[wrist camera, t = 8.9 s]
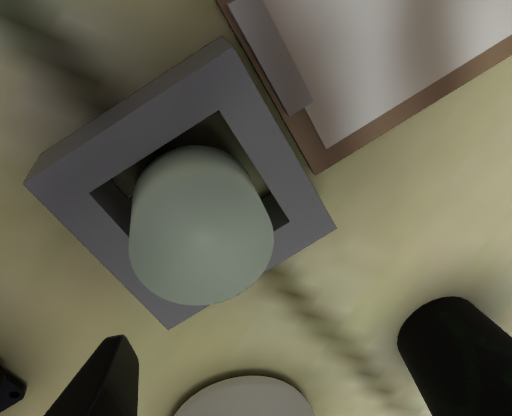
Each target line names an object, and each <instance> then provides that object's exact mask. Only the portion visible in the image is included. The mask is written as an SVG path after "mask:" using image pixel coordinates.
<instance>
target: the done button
mask: <svg viewBox="0 0 512 416" xmlns="http://www.w3.org/2000/svg"><path fill="white" fill-rule="evenodd" d="M273 246H274V232H273V227H272V223H271V221H270V218H269V216H268V214H267V212H266V210H265V207H264V205H263V203H262V201H261V199H260V197H259V195H258V193H257V191H256V189H255V187H254V185H253V183H252V180H251V178H250V176H249V175H248V173H247V171H246V170H245V168H244V167H243V166H242V165H241V164H240V163H239V162H238V161H237V160H236V159H235V158H234V157H232V156H231V155H229V154H228V153H226V152H224V151H222V150H219V149H217V148H213V147H209V146H202V145H189V146H182V147H178V148H174V149H172V150H169V151H167V152H165V153H163V154H161V155H159V156H158V157H157V158H155V159H154V160H152V161H151V162H150V163H149V164H148V165H147V166H146V167H145V169H144V170H143V171H142V172H141V174H140V176H139V178H138V179H137V182H136V184H135V187H134V191H133V197H132V209H131V222H130V234H129V246H128V249H129V258H130V262H131V266H132V268H133V270H134V272H135V274H136V276H137V277H138V279H139V280H140V281H141V283H142V284H143V285H144V286H145V287H146V288H147V289H149V290H150V291H151V292H153V293H154V294H155V295H157V296H159V297H161V298H163V299H165V300H168V301H170V302H173V303H178V304H182V305H192V306H200V305H210V304H215V303H219V302H222V301H225V300H228V299H230V298H233V297H235V296H236V295H238V294H240V293H242V292H243V291H245V290H246V289H248V288H249V287H250V286H251V285H252V284H253V283H254V282H255V281H256V280H257V279H258V278H259V277H260V276H261V274H262V273H263V272H264V270H265V269H266V267H267V265H268V263H269V261H270V258H271V255H272V251H273Z"/></svg>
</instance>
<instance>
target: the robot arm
mask: <svg viewBox="0 0 512 416" xmlns="http://www.w3.org/2000/svg"><path fill="white" fill-rule="evenodd" d="M138 380H139V362H138V358H137V355H136V354H135V352H134V350H133V348H132V346H131V345H130V343H129V341H128V339H127V338H126V336H124V335H117V336H111V337H107V338H105V339H104V340H103V341H102V343H101V344H100V345H99V346H98V348H97V349H96V350H95V351H94V353H93V354H92V355H91V357H90V358H89V359H88V360H87V362H86V363H85V364H84V365H83V367H82V368H81V369H80V370H79V372H78V373H77V374H76V376H75V377H74V378H73V379H72V381H71V382H70V383H69V384H68V386H67V387H66V388H65V389H64V391H63V392H62V393H61V395H60V396H59V397H58V398H57V400H56V401H55V402H54V403H53V405H52V406H51V407H50V408H49V410H48V411H47V412H46V414H45V415H44V416H137V407H138ZM26 389H27V388H26V386H25V385H24V384H23V383H22V382H20V381H19V380H18V379H16V378H15V377H13V376H12V375H11V374H9V373H8V372H6V371H5V370H4V369H2V368H1V367H0V412H2V411H4V410H5V409H7V408H9V407H10V406H12V405H14V404H15V403H17V402H18V401H20V400H22V399H23V398H24V396H25V393H26ZM14 391H16V392H14Z"/></svg>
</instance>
